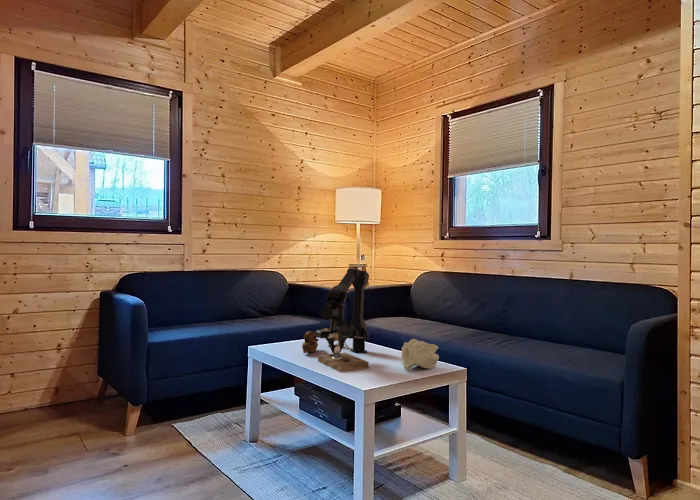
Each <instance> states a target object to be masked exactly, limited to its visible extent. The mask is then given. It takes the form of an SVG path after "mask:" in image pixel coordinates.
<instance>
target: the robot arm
mask: <svg viewBox="0 0 700 500" xmlns="http://www.w3.org/2000/svg"><path fill="white" fill-rule="evenodd" d="M369 279H370V275H369V273H368V271H367V270H360V269H358V268H348V269H347V271H346V273H345V275H344V276H343V277H342V279H341V280H340V282H339V283H338V284H336V285H335V286H333V287H332V288H330V289H329V292H328V293H327V297H326V300H325V302H324V307H322V309H321V311H320V316H321V318H322V319H323V320H325V321H329V322H330V327H329V328H328V329H329V330H330V331H326V330H323V329H316V331H314V332H315V336H316V338H317V339H325V338H326V339H325V341H327V344H328V345H329V346H330V347H329V349H330V350H331V354H333V353H334V343H335V341H334V340H335V338H333V335H338V341H337V343H339V344H340V353H342V350H343V348H342V347H343V345H344V346H345V343H346V340H348V339H349V340H350V339H351V340H352V349H351V348H350V349H349V351H351V353H352V352H353V353H356V354H359V353H368V350H366V349H365V348H366V341H368V340H369V338H370V337H369V336H370V334H369V332H368V330H367V324H366V322H365V320H364V301H365V288H366V287H367V285H368V284H369ZM351 286H353V288H354V289H353V312H352V319H351V320H350V321H349V322H348V324H346V319H344V317H345V316H344V310H345V308H344V307H346V304H345V302H346V300H347V298H348V291H349V289H350V287H351ZM344 342H345V343H344Z"/></svg>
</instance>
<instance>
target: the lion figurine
mask: <svg viewBox="0 0 700 500" xmlns="http://www.w3.org/2000/svg"><path fill="white" fill-rule="evenodd" d="M322 330H326V331H330V330H329V328H322ZM333 338H335V340H334V342H338V335H333ZM324 339H325V340H326V338H324ZM345 346H346V348H349V345H347V344H346V341H345V342H344V345H343V347H342V349H345ZM327 347H329V348H330V346H329V344H328V345H327Z"/></svg>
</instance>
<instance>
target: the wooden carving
mask: <svg viewBox="0 0 700 500" xmlns="http://www.w3.org/2000/svg"><path fill="white" fill-rule="evenodd" d="M315 332H316V331H313V330H312V331H310V330H309V331H306V332H305V334H303V335H304V336H303V340H304V342H302V345H301V348H302V351H303V354H309V353H314V352H316V350H317V349H318V346H319V344H318V342H319V339H320V338H318V337H316V336H315Z"/></svg>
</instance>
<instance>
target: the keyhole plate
mask: <svg viewBox="0 0 700 500" xmlns="http://www.w3.org/2000/svg"><path fill="white" fill-rule="evenodd" d="M331 356H333V353H329V354H320V355H319V354H318V355H317V362H318V363H321V364H323V365H325V366H326V367H328V368H331V369H333V370H335V371H337V372H340V373H341V372H347V371H358V370H365V369H369V368H370V367H369V364H370V363H369V361H367V360H365V359H362V358H360V357H357V356H356V355H352V354H349V353H347V352H340V356H341V357H342V360H339V359H337V358H333V357H331Z"/></svg>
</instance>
